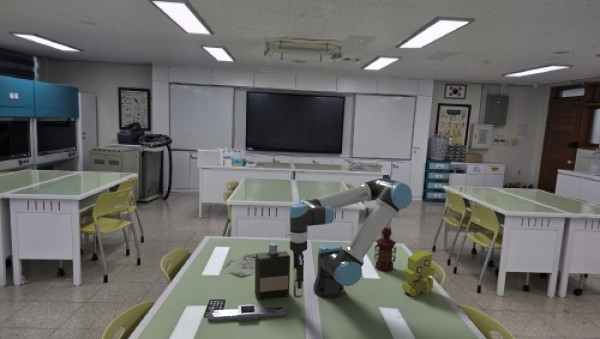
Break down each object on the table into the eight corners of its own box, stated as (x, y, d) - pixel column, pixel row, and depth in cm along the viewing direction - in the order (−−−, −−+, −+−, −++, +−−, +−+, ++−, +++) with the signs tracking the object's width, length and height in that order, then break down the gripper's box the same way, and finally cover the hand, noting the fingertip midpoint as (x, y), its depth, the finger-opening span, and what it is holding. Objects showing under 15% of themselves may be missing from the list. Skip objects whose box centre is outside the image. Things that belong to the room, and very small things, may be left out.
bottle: (254, 292, 177) (254, 242, 173) (286, 289, 181) (287, 240, 178) (256, 300, 169) (257, 248, 166) (290, 296, 174) (291, 245, 170)
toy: (409, 297, 177) (412, 257, 174) (401, 292, 182) (403, 253, 179) (433, 292, 183) (437, 253, 181) (425, 287, 188) (428, 249, 186)
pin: (301, 293, 162) (302, 267, 160) (303, 297, 158) (303, 271, 156) (292, 293, 161) (293, 267, 159) (294, 298, 157) (294, 271, 155)
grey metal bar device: (285, 308, 162) (285, 302, 162) (287, 318, 155) (287, 311, 154) (208, 313, 157) (208, 306, 156) (207, 323, 149) (207, 316, 148)
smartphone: (203, 317, 153) (209, 299, 168) (203, 318, 153) (209, 300, 168) (221, 316, 154) (225, 299, 169) (221, 318, 154) (225, 300, 169)
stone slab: (286, 264, 214) (286, 261, 214) (239, 279, 191) (239, 277, 191) (258, 251, 233) (258, 249, 233) (212, 264, 210) (212, 262, 210)
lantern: (386, 274, 203) (390, 221, 199) (369, 267, 212) (372, 216, 208) (399, 269, 211) (402, 218, 207) (381, 262, 220) (385, 213, 216)
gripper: (287, 234, 164) (287, 284, 167) (292, 247, 147) (292, 302, 150) (303, 233, 165) (303, 282, 168) (311, 246, 148) (310, 301, 152)
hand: (298, 292), depth 159 cm, fingers closed on pin, 4 cm apart
